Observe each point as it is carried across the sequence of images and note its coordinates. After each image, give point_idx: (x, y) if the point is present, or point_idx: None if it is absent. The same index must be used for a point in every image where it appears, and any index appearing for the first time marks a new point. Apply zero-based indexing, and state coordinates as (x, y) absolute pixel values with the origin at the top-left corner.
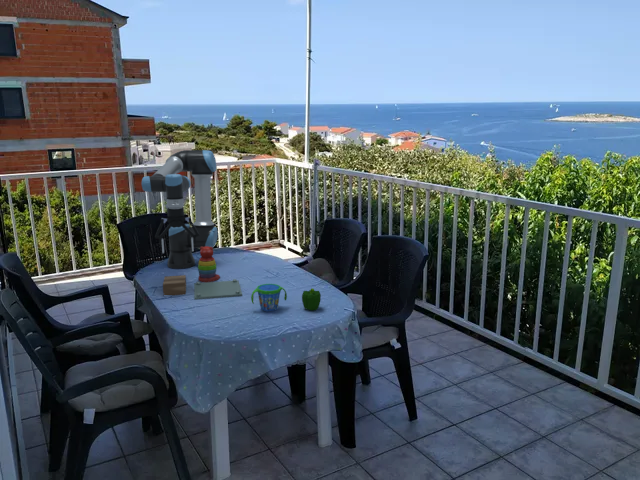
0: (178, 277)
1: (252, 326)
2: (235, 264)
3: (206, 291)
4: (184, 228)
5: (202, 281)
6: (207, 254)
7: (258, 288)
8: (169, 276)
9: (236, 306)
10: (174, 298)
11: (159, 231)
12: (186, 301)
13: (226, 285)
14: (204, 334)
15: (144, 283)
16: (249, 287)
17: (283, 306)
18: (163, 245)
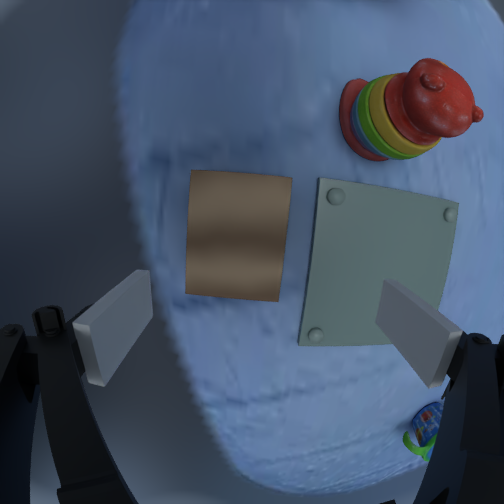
0: (256, 206)
1: (363, 468)
2: (445, 19)
3: (348, 296)
4: (418, 495)
5: (353, 149)
6: (442, 136)
7: (427, 452)
8: (213, 176)
9: (383, 401)
10: (233, 313)
11: (26, 441)
12: (270, 350)
13: (420, 248)
14: (281, 483)
15: (128, 104)
16: (463, 267)
17: None
18: (128, 349)
